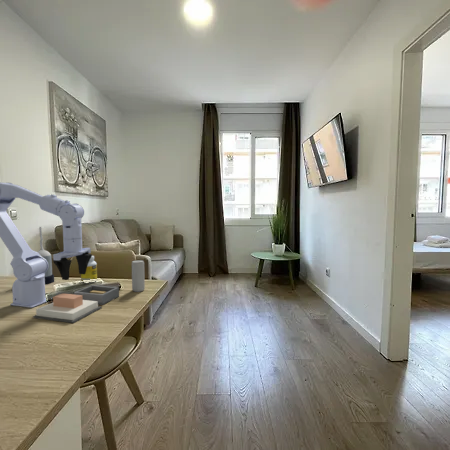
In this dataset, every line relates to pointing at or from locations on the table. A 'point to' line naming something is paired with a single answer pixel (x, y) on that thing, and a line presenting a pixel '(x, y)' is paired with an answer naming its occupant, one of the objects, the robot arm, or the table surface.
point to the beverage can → (138, 276)
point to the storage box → (99, 293)
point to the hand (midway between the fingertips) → (74, 276)
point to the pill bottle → (90, 270)
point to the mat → (66, 319)
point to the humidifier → (46, 255)
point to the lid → (67, 307)
